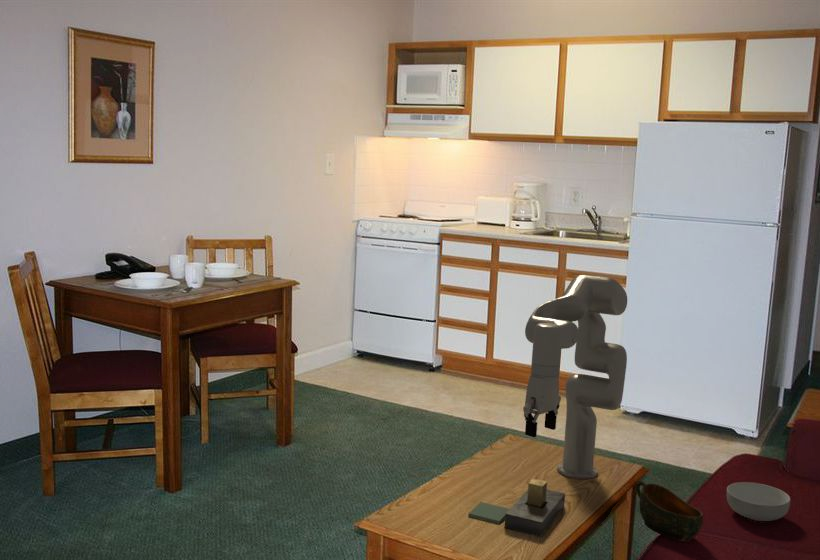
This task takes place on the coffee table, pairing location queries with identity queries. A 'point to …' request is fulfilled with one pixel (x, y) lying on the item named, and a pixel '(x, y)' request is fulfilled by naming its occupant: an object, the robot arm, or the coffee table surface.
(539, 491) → the brass plug
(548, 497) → the dark square-hole plate
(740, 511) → the cereal bowl
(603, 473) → the coffee table surface
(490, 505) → the green mat
